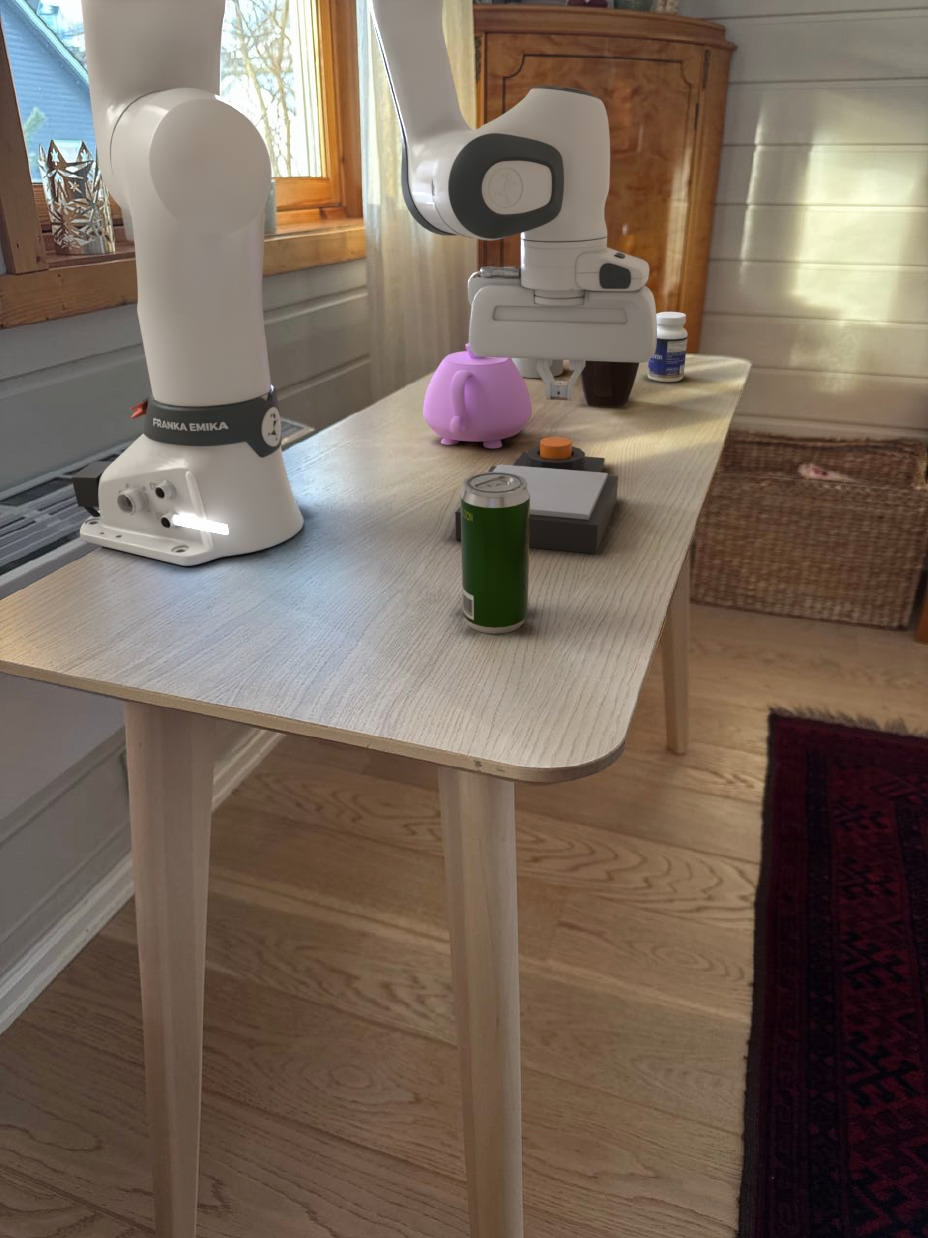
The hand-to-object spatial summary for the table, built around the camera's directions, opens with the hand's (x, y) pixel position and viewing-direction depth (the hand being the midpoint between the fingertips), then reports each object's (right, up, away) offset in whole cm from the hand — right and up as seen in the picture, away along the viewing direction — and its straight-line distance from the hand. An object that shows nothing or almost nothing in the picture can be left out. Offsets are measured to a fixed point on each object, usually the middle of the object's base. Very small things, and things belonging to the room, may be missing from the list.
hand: (560, 398), depth 100 cm
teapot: (-9, 0, +19) cm, 21 cm away
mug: (+10, +6, +31) cm, 33 cm away
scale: (-3, -14, -7) cm, 16 cm away
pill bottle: (+22, +14, +44) cm, 51 cm away
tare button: (0, -6, +3) cm, 7 cm away
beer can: (-8, -25, -26) cm, 36 cm away
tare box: (0, -8, +4) cm, 9 cm away
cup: (+2, +16, +50) cm, 52 cm away
